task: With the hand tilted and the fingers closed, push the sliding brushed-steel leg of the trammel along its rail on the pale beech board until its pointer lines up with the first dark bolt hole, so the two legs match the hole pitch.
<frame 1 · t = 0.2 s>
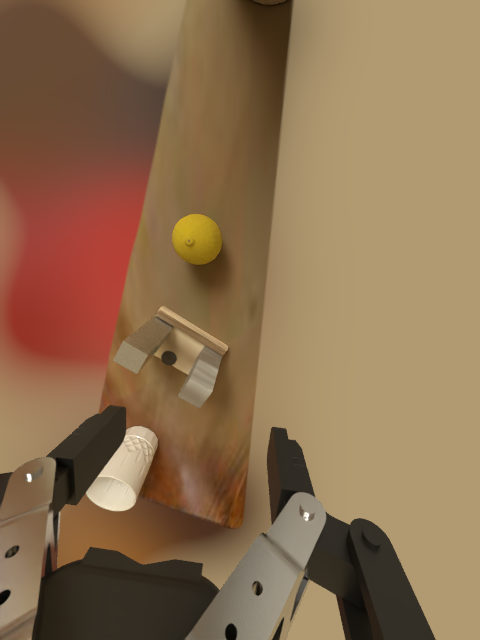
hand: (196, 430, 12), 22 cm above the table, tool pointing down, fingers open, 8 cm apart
gauge board: (185, 343, 36), on the table
lemon: (205, 239, 30), on the table
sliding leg: (145, 345, 30), point 6 cm above the table, slide at 0.0 cm
white cup: (142, 438, 44), on the table
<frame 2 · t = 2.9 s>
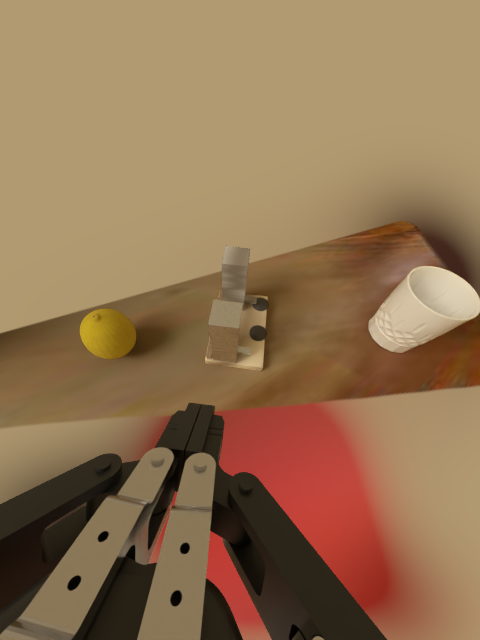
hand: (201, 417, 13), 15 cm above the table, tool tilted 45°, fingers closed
gauge board: (237, 329, 33), on the table
lemon: (123, 349, 31), on the table
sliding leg: (233, 335, 26), point 6 cm above the table, slide at 0.0 cm
white cup: (389, 333, 35), on the table
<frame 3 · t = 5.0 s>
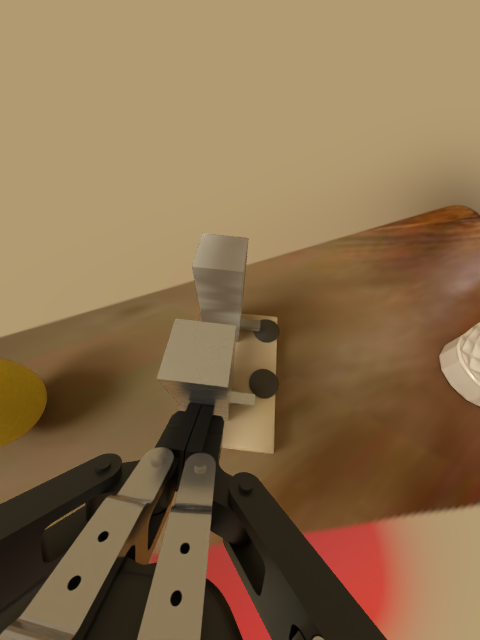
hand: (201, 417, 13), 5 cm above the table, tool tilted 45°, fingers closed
gauge board: (228, 373, 20), on the table
lemon: (32, 414, 18), on the table
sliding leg: (221, 382, 14), point 6 cm above the table, slide at 1.7 cm, touching gripper
white cup: (474, 375, 22), on the table
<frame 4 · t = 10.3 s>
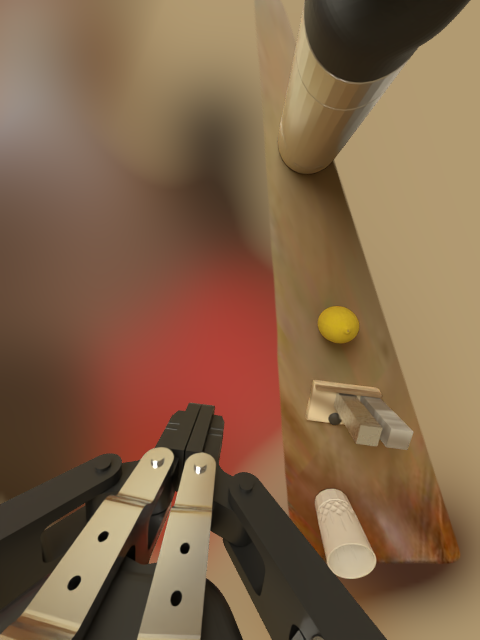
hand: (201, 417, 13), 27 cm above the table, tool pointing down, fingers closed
gauge board: (340, 400, 42), on the table
lemon: (328, 318, 39), on the table
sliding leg: (353, 420, 36), point 6 cm above the table, slide at 4.0 cm
white cup: (330, 500, 47), on the table
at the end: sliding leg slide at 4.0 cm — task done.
